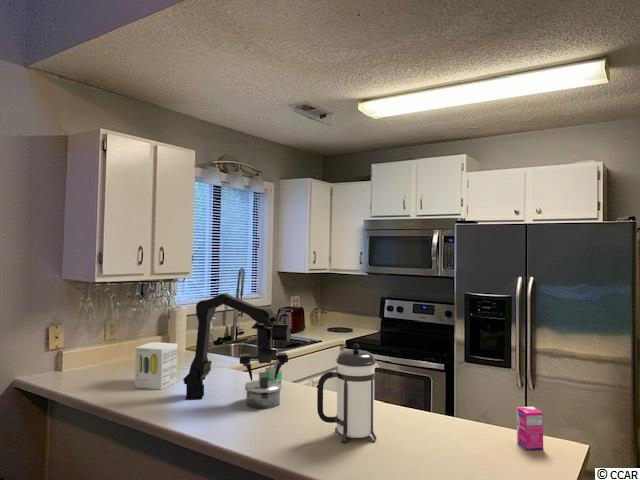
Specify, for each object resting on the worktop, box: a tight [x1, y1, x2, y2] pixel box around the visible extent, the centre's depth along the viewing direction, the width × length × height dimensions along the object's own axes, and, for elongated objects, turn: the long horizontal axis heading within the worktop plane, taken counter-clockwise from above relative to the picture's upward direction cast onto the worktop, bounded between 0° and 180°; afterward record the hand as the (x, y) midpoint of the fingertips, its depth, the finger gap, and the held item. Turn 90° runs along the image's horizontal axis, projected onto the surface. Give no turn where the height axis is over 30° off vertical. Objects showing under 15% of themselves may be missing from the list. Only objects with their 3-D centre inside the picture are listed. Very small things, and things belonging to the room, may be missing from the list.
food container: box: [264, 361, 284, 385], centre depth 206 cm, size 12×6×10 cm, turn 168°
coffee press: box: [316, 343, 380, 444], centre depth 153 cm, size 17×16×30 cm
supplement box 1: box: [134, 341, 179, 391], centre depth 210 cm, size 13×13×18 cm
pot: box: [245, 389, 281, 410], centre depth 185 cm, size 13×16×6 cm
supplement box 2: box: [516, 406, 544, 451], centre depth 147 cm, size 6×6×12 cm
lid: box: [244, 371, 282, 394], centre depth 185 cm, size 14×14×5 cm
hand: (263, 380), depth 185 cm, fingers open, 9 cm apart
